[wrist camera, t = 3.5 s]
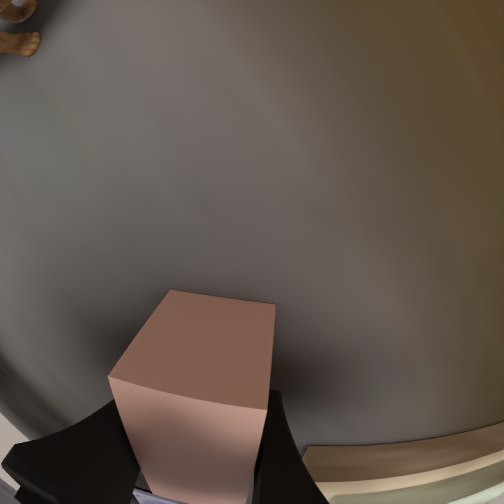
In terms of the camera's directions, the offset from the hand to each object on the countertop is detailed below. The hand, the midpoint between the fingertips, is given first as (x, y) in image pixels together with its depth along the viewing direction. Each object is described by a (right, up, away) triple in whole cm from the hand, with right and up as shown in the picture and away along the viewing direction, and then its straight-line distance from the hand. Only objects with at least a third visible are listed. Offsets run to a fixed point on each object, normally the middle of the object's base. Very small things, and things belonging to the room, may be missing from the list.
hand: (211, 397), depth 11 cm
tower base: (+14, -12, +4) cm, 19 cm away
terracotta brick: (0, 0, +1) cm, 1 cm away
